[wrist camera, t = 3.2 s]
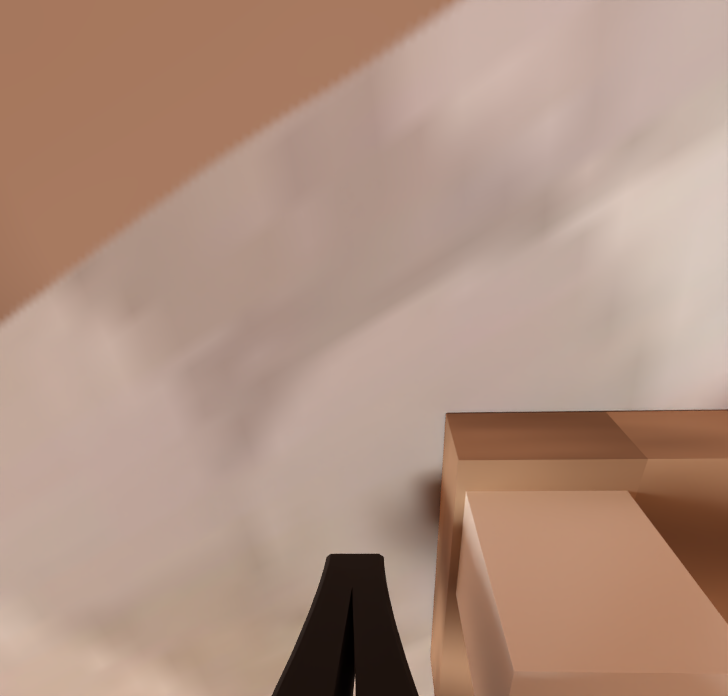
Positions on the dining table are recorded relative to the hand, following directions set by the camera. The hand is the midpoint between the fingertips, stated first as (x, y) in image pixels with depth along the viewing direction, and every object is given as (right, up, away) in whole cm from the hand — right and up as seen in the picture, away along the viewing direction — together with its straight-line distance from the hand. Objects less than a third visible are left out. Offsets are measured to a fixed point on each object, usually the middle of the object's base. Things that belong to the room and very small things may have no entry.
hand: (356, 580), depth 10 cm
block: (+5, +1, +1) cm, 5 cm away
